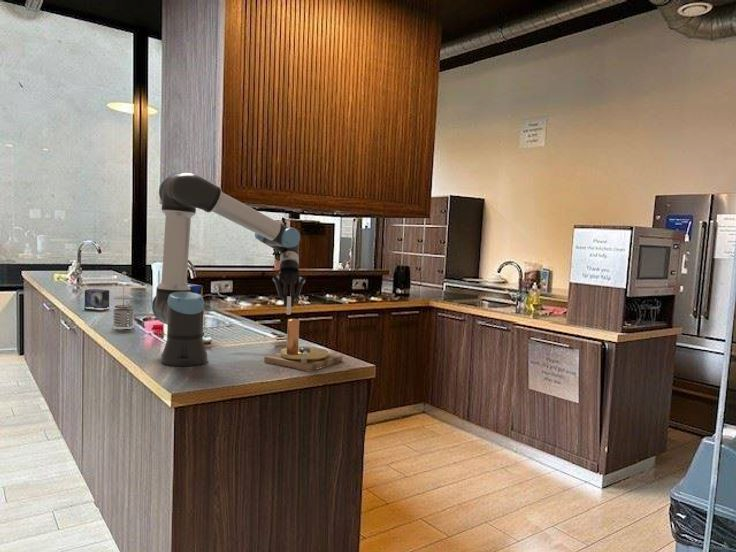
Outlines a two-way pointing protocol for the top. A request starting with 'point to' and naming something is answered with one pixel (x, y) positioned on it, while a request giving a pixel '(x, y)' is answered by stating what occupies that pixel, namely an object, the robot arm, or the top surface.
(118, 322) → the french press
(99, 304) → the small box
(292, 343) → the disc
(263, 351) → the top surface
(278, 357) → the levelling stand
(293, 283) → the robot arm
